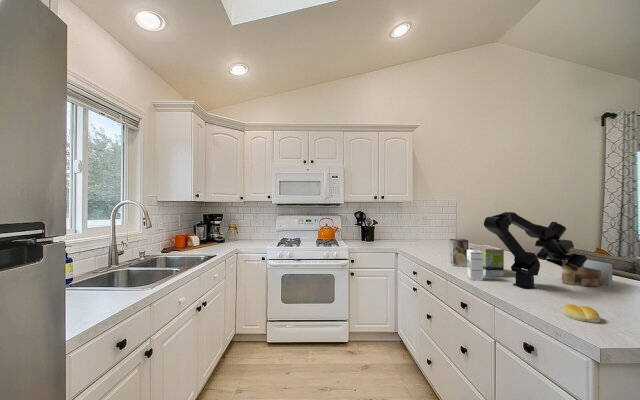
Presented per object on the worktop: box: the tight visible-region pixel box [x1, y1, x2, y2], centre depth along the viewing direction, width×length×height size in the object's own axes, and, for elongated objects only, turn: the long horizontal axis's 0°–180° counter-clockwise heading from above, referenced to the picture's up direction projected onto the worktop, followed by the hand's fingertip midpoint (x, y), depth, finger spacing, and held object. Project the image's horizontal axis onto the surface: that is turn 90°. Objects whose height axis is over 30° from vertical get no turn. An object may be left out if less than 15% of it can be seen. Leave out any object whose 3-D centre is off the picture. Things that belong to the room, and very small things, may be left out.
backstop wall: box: [583, 259, 613, 287], centre depth 124 cm, size 2×10×10 cm, turn 7°
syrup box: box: [466, 249, 484, 282], centre depth 130 cm, size 6×6×14 cm
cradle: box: [575, 265, 602, 287], centre depth 123 cm, size 9×10×7 cm
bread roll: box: [561, 303, 601, 324], centre depth 86 cm, size 8×9×4 cm
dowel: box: [561, 260, 576, 286], centre depth 122 cm, size 4×4×11 cm
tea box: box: [469, 244, 505, 278], centre depth 140 cm, size 15×10×15 cm
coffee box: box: [449, 238, 470, 267], centre depth 158 cm, size 9×6×16 cm
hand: (571, 268), depth 122 cm, fingers closed on dowel, 4 cm apart
